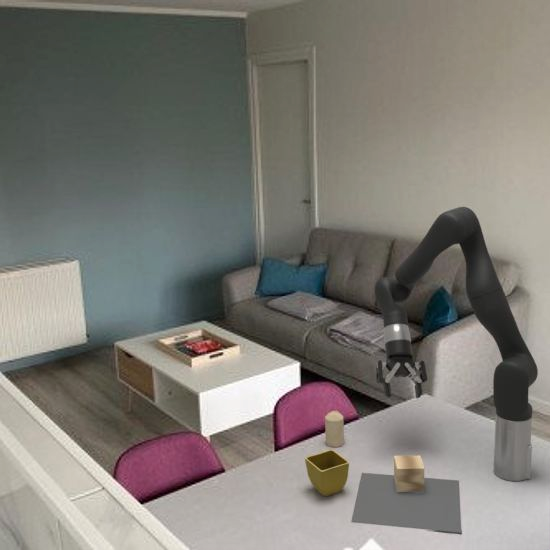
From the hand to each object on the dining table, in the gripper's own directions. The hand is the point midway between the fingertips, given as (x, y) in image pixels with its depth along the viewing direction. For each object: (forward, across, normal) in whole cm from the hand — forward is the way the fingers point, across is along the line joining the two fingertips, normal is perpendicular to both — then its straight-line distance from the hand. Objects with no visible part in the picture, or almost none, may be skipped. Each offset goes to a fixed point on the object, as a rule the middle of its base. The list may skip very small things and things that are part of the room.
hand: (403, 397), depth 194 cm
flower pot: (+25, -23, +3) cm, 34 cm away
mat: (+28, -4, -5) cm, 29 cm away
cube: (+24, -2, 0) cm, 24 cm away
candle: (+8, -15, +24) cm, 29 cm away
